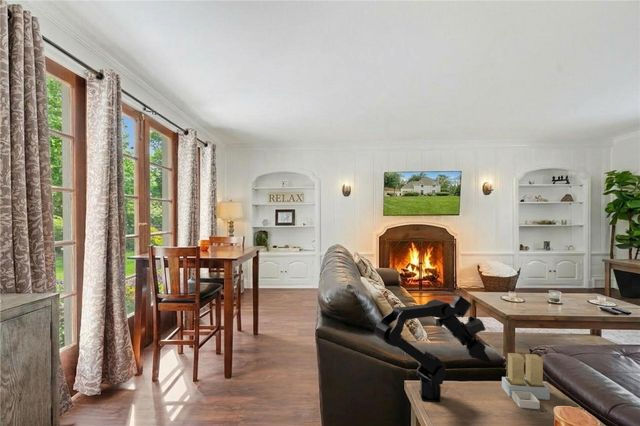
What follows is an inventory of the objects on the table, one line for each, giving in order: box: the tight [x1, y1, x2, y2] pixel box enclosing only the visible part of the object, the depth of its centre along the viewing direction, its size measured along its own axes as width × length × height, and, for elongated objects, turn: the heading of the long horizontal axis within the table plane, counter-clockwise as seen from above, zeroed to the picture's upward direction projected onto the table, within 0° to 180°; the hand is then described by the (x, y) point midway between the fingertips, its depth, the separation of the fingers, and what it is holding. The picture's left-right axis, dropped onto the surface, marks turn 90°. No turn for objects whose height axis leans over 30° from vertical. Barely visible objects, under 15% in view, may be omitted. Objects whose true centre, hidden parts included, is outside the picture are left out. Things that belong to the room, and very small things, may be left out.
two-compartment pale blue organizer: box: [501, 376, 551, 401], centre depth 123 cm, size 14×7×4 cm, turn 82°
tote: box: [511, 391, 541, 410], centre depth 116 cm, size 6×6×2 cm
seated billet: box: [525, 353, 544, 387], centre depth 122 cm, size 4×4×12 cm
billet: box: [507, 352, 525, 386], centre depth 123 cm, size 4×4×12 cm
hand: (485, 357), depth 123 cm, fingers open, 9 cm apart
